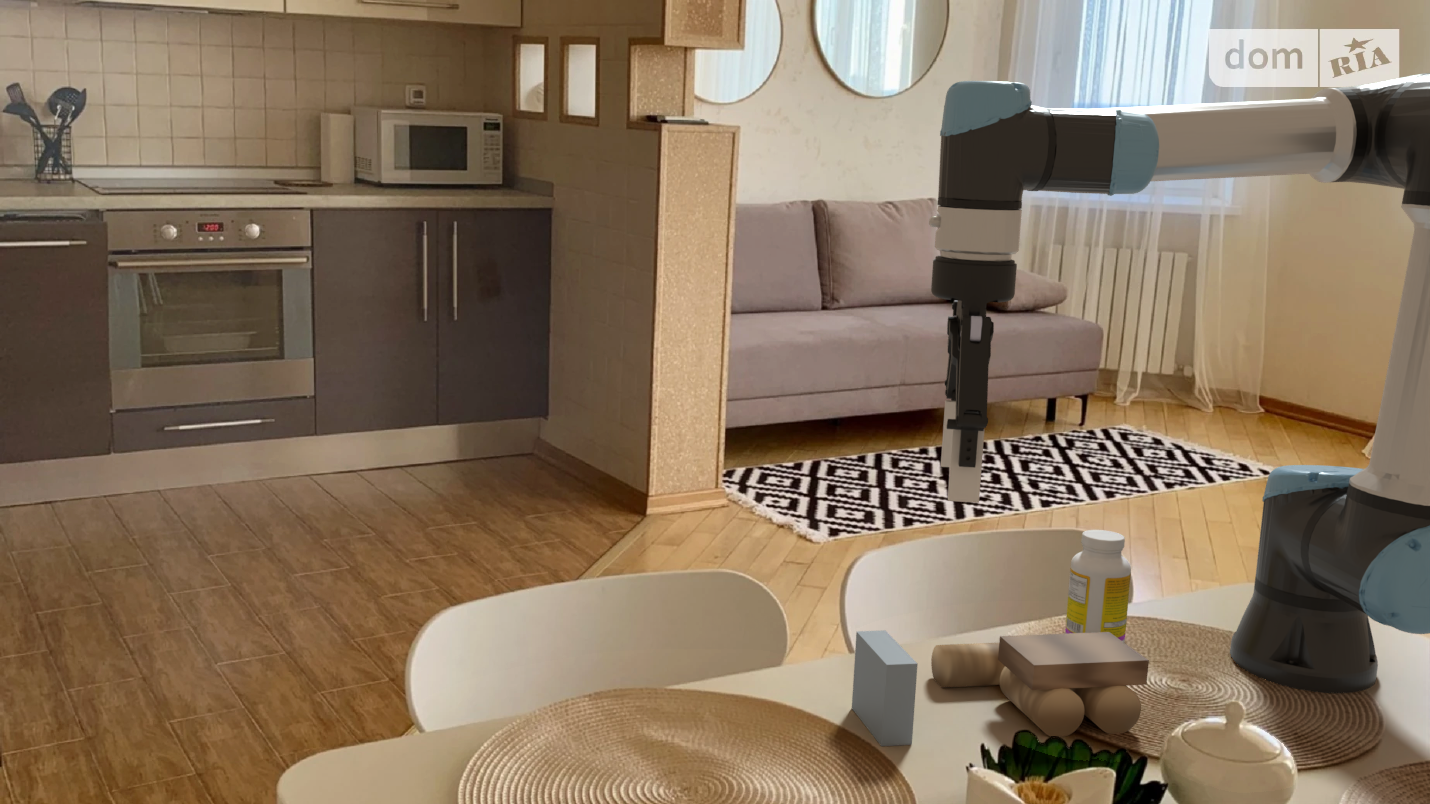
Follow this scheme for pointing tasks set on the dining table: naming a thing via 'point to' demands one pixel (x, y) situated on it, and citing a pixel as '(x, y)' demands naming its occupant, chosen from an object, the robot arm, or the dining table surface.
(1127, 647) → the walnut board
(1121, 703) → the roller
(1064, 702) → the roller
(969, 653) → the roller
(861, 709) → the block
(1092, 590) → the supplement bottle
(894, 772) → the dining table surface
